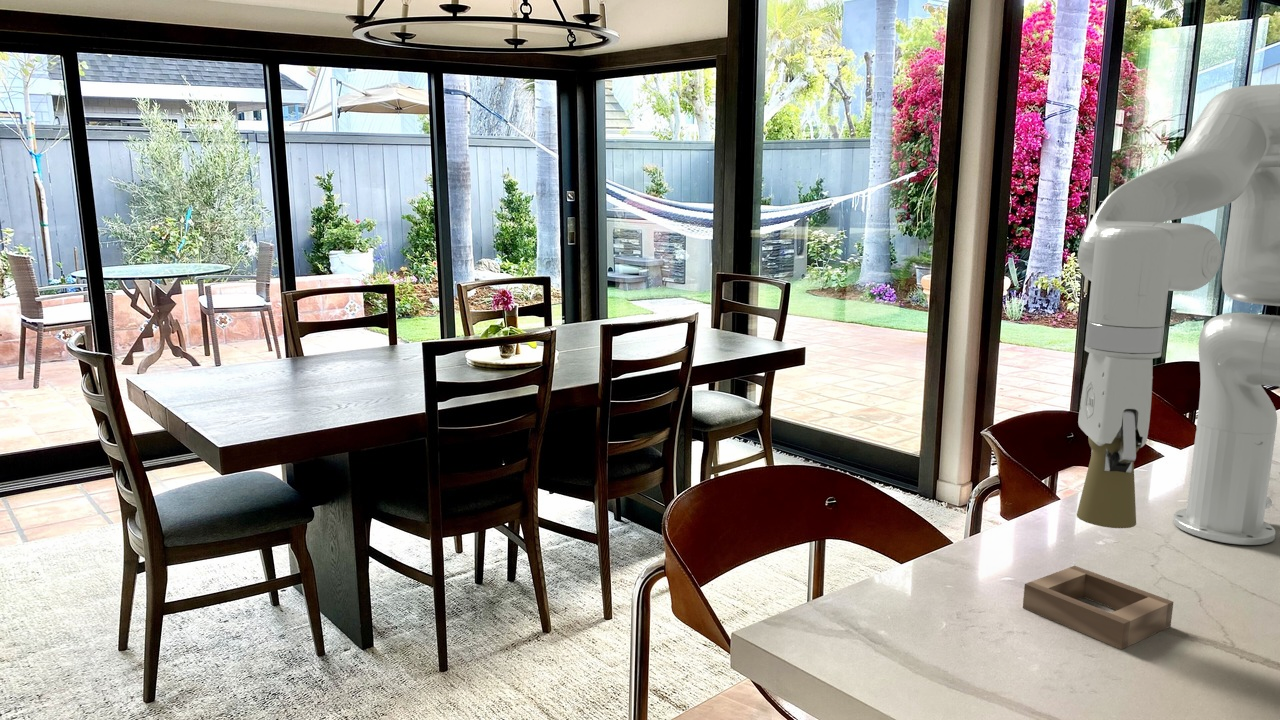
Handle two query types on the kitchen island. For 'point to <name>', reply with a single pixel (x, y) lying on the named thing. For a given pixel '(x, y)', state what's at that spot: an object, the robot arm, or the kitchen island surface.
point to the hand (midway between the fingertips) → (1106, 499)
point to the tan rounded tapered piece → (1108, 491)
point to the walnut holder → (1119, 628)
